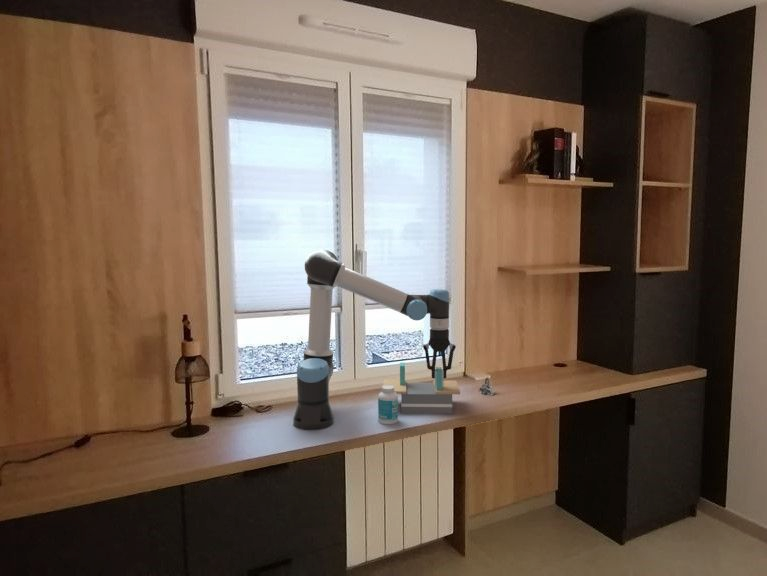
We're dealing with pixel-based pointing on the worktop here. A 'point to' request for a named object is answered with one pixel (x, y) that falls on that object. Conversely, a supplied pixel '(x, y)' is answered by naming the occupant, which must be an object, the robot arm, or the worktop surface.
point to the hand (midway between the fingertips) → (438, 386)
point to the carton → (425, 400)
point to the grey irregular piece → (487, 388)
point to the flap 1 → (398, 381)
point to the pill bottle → (387, 406)
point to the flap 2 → (445, 384)
